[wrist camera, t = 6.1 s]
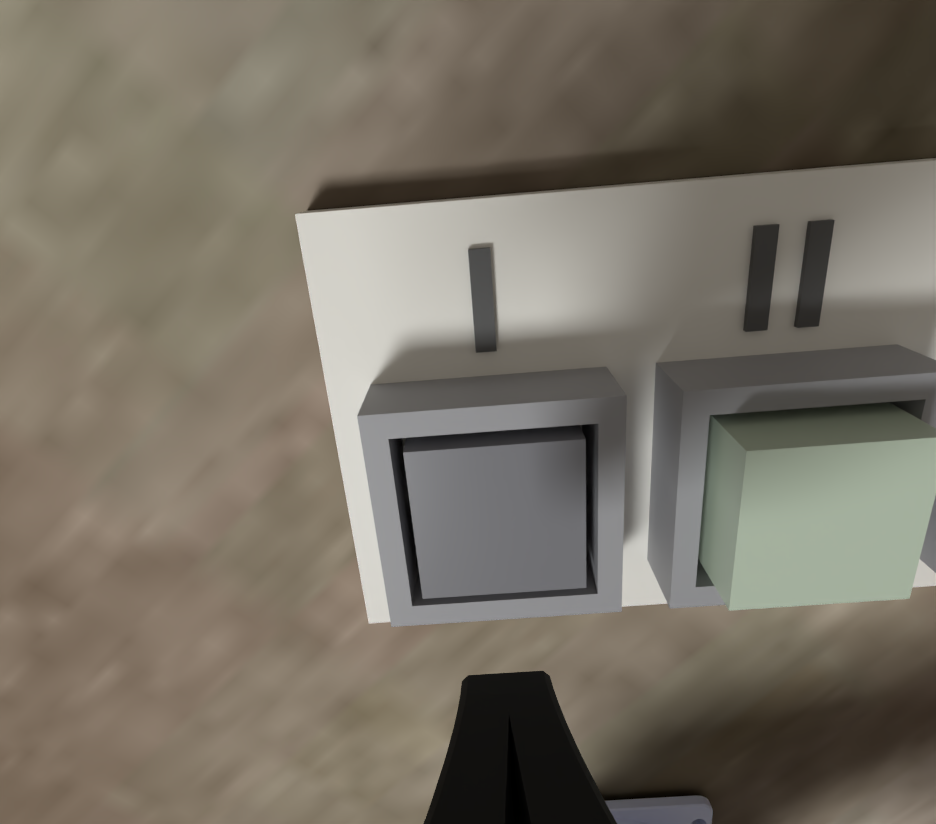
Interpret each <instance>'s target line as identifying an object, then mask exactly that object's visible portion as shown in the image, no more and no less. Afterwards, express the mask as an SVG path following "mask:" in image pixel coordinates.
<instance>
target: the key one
mask: <svg viewBox="0 0 936 824" xmlns="http://www.w3.org/2000/svg"><path fill="white" fill-rule="evenodd" d="M403 456H404V463H405V471H406V478H407V486H408V493H409V501H410V508H411V516H412V523H413V531H414V538H415V545H416V553H417V560H418V568H419V575H420V583H421V590H422V598H423V599H428V598H443V597H458V596H473V595H488V594H503V593H517V592H532V591H547V590H562V589H577V588H586V439H585V436H584V434H583V432H582V430H581V427H580V425H572V426H558V427H545V428H531V429H517V430H504V431H490V432H477V433H463V434H450V435H436V436H423V437H409V438H406V441H405V446H404V450H403Z"/></svg>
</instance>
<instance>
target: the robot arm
mask: <svg viewBox="0 0 936 824" xmlns="http://www.w3.org/2000/svg"><path fill="white" fill-rule="evenodd" d="M712 816H713V810H712V807H711V804H710V802H709V800H708V799H707V798H706V797H703V796H699V795H693V796H676V797H659V798H641V799H624V800H607V801H605V800H604V799H603V797H602V795H601V793H600V791H599V789H598V787H597V785H596V783H595V781H594V779H593V778H592V776H591V774H590V772H589V770H588V768H587V766H586V764H585V762H584V760H583V758H582V756H581V754H580V752H579V750H578V747H577V745H576V743H575V741H574V739H573V736H572V734H571V732H570V730H569V728H568V725H567V723H566V721H565V718H564V716H563V713H562V711H561V708H560V706H559V703H558V700H557V698H556V695H555V692H554V689H553V686H552V682H551V679H550V676H549V675H548V674H546V673H545V672H544V671H533V672H516V673H500V674H483V675H468V676H467V677H466V678H465V679H464V680H463V681H462V686H461V695H460V701H459V706H458V711H457V716H456V720H455V725H454V729H453V733H452V736H451V740H450V744H449V747H448V751H447V755H446V758H445V761H444V764H443V768H442V771H441V774H440V777H439V780H438V783H437V786H436V789H435V792H434V796H433V799H432V802H431V805H430V808H429V811H428V813H427V816H426V819H425V821H424V824H712Z"/></svg>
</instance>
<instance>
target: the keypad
mask: <svg viewBox="0 0 936 824" xmlns="http://www.w3.org/2000/svg"><path fill="white" fill-rule="evenodd" d="M295 217H296V222H297V228H298V234H299V239H300V245H301V250H302V256H303V261H304V267H305V272H306V278H307V283H308V289H309V294H310V300H311V306H312V311H313V317H314V322H315V328H316V333H317V339H318V344H319V350H320V355H321V361H322V366H323V372H324V378H325V383H326V389H327V394H328V400H329V405H330V411H331V416H332V422H333V427H334V433H335V438H336V444H337V450H338V455H339V461H340V466H341V472H342V477H343V483H344V488H345V494H346V499H347V505H348V510H349V516H350V522H351V527H352V533H353V538H354V544H355V549H356V555H357V560H358V566H359V571H360V577H361V582H362V588H363V594H364V599H365V605H366V610H367V616H368V621H369V623H381V622H391V627H395V626H410V625H426V624H441V623H456V622H471V621H486V620H501V619H516V618H532V617H547V616H562V615H577V614H592V613H607V612H622V606H637V605H652V604H667V603H668V606H669V608H683V607H698V606H713V605H725V603H724V601H723V600H722V598H721V596H720V595H719V593H718V591H717V589H716V588H715V586H714V584H713V583H712V581H711V579H710V578H709V576H708V574H707V573H706V571H705V569H704V568H703V566H702V564H701V563H700V561H699V559H698V552H699V540H700V528H701V516H702V504H703V491H704V479H705V467H706V455H707V443H708V431H709V419H710V415H720V414H734V413H747V412H761V411H774V410H788V409H801V408H815V407H828V406H842V405H855V404H869V403H882V402H890V403H891V404H893V405H895V406H897V407H899V408H900V409H902V410H904V411H906V412H908V413H909V414H911V415H913V416H915V417H917V418H918V419H920V420H922V421H924V422H925V423H927V424H929V425H931V426H933V427H934V428H936V158H930V159H918V160H906V161H894V162H882V163H870V164H858V165H846V166H834V167H822V168H810V169H799V170H787V171H775V172H763V173H751V174H739V175H727V176H715V177H703V178H691V179H680V180H668V181H656V182H644V183H632V184H620V185H608V186H596V187H584V188H572V189H561V190H549V191H537V192H525V193H513V194H501V195H489V196H477V197H465V198H453V199H442V200H430V201H418V202H406V203H394V204H382V205H370V206H358V207H346V208H334V209H322V210H311V211H304V212H300V213H297V214H295ZM572 425H580V427H581V430H582V432H583V434H584V436H585V439H586V588H577V589H562V590H547V591H532V592H517V593H503V594H488V595H473V596H458V597H443V598H428V599H423V598H422V590H421V583H420V575H419V568H418V560H417V553H416V545H415V538H414V531H413V523H412V516H411V508H410V501H409V493H408V486H407V478H406V471H405V463H404V456H403V450H404V446H405V441H406V438H409V437H423V436H436V435H450V434H463V433H477V432H490V431H504V430H517V429H531V428H545V427H558V426H572ZM924 586H936V496H935V500H934V504H933V508H932V512H931V515H930V519H929V523H928V527H927V531H926V535H925V539H924V543H923V547H922V551H921V555H920V559H919V563H918V567H917V571H916V575H915V579H914V583H913V586H912V587H924Z"/></svg>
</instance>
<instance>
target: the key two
mask: <svg viewBox="0 0 936 824" xmlns="http://www.w3.org/2000/svg"><path fill="white" fill-rule="evenodd" d="M935 496H936V428H934V427H933V426H931V425H929V424H927V423H925V422H924V421H922V420H920V419H918V418H917V417H915V416H913V415H911V414H909V413H908V412H906V411H904V410H902V409H900V408H899V407H897V406H895V405H893V404H891V403H890V402H882V403H869V404H855V405H842V406H828V407H815V408H801V409H788V410H774V411H761V412H747V413H734V414H720V415H710V419H709V431H708V443H707V455H706V467H705V479H704V491H703V504H702V516H701V528H700V540H699V552H698V559H699V561H700V563H701V564H702V566H703V568H704V569H705V571H706V573H707V574H708V576H709V578H710V579H711V581H712V583H713V584H714V586H715V588H716V589H717V591H718V593H719V595H720V596H721V598H722V600H723V601H724V603H725V605H726V606H727V608H728V610H744V609H759V608H774V607H789V606H805V605H820V604H835V603H850V602H865V601H881V600H896V599H909V598H910V594H911V590H912V586H913V583H914V579H915V575H916V571H917V567H918V563H919V559H920V555H921V551H922V547H923V543H924V539H925V535H926V531H927V527H928V523H929V519H930V515H931V512H932V508H933V504H934V500H935Z"/></svg>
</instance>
